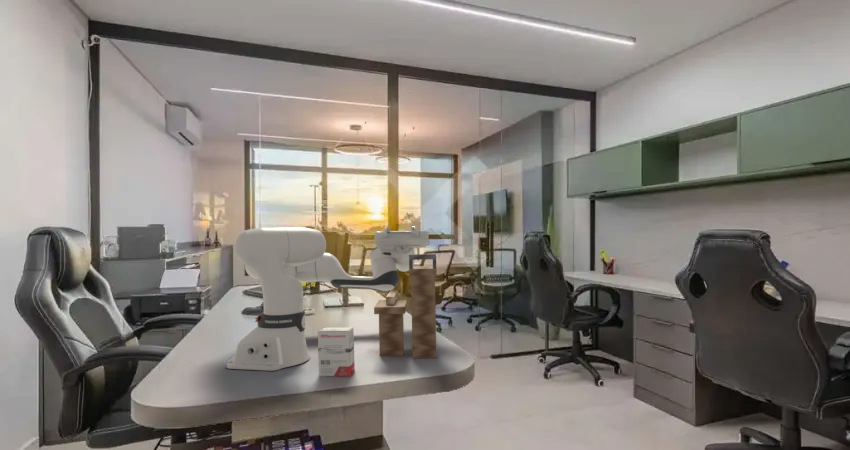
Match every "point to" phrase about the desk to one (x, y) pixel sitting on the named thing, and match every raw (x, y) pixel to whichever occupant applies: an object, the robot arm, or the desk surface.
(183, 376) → the desk surface
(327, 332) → the ink box
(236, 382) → the desk surface
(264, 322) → the robot arm
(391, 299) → the handle
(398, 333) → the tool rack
